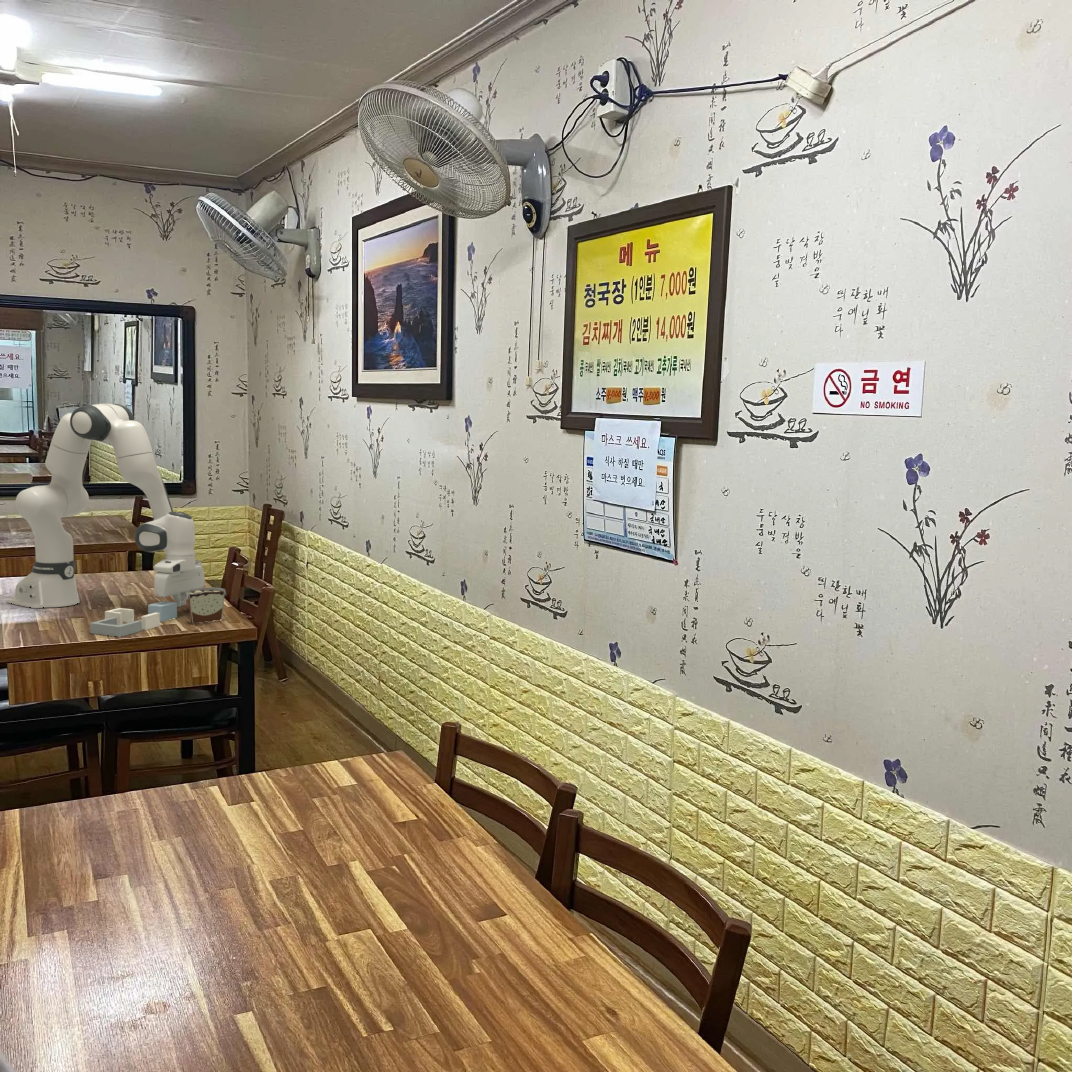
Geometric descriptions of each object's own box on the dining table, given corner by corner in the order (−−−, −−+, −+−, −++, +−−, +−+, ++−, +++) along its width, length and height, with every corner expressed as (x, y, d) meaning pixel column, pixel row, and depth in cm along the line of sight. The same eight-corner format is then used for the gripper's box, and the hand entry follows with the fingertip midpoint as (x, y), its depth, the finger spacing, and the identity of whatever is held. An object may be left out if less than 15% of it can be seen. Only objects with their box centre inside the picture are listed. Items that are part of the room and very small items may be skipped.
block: (148, 620, 300) (148, 604, 299) (164, 616, 307) (163, 600, 306) (161, 622, 298) (161, 606, 298) (177, 618, 305) (176, 602, 304)
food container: (218, 616, 309) (218, 585, 308) (226, 620, 304) (226, 588, 303) (179, 621, 301) (179, 589, 299) (187, 624, 296) (187, 592, 295)
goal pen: (90, 633, 281) (89, 623, 281) (112, 627, 290) (112, 617, 289) (119, 637, 278) (119, 627, 277) (141, 630, 286) (141, 620, 286)
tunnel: (105, 624, 292) (104, 611, 292) (119, 620, 298) (119, 607, 297) (145, 629, 288) (145, 616, 287) (159, 625, 293) (159, 612, 293)
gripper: (193, 557, 319) (193, 599, 321) (150, 566, 300) (150, 610, 302) (209, 559, 317) (209, 601, 319) (167, 568, 298) (167, 612, 300)
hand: (180, 605), depth 310 cm, fingers closed
